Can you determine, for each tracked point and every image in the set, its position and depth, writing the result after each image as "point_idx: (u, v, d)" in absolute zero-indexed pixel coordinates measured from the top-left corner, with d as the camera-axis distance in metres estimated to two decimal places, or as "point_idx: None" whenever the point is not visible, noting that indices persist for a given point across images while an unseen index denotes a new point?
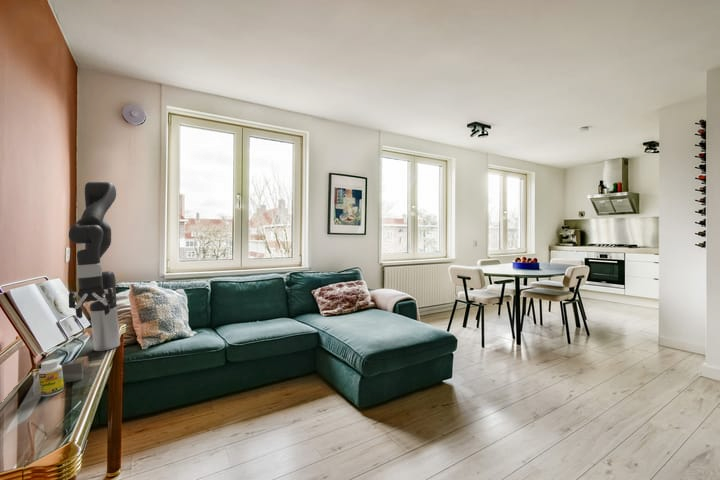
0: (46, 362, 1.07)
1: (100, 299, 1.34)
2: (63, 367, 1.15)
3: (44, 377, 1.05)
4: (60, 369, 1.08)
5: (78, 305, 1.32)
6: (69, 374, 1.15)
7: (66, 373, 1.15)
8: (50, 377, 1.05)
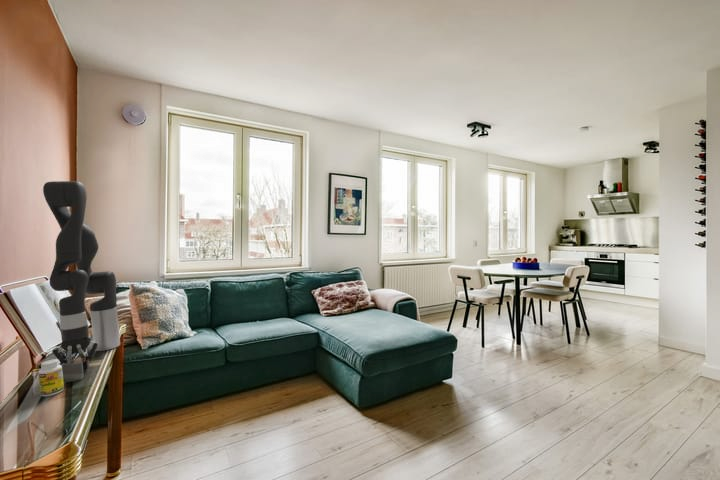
0: (46, 362, 1.07)
1: (81, 353, 1.22)
2: (63, 367, 1.15)
3: (44, 377, 1.05)
4: (60, 369, 1.08)
5: (71, 360, 1.21)
6: (69, 374, 1.15)
7: (66, 373, 1.15)
8: (50, 377, 1.05)
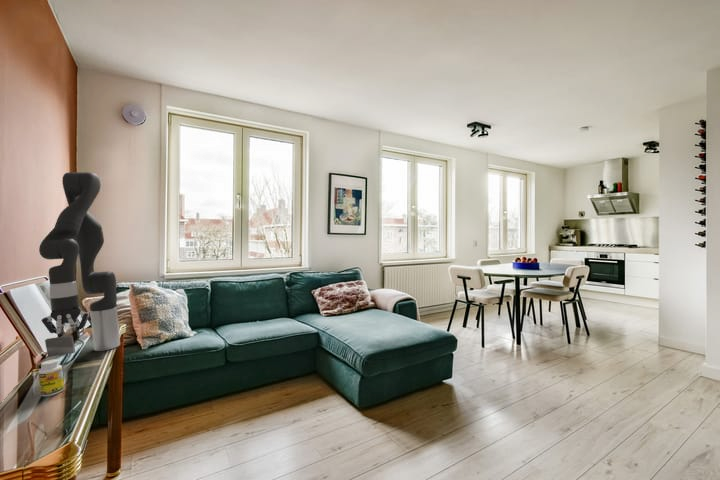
0: (46, 362, 1.07)
1: (71, 323, 1.20)
2: (53, 341, 1.13)
3: (44, 377, 1.05)
4: (60, 369, 1.08)
5: (60, 330, 1.19)
6: (60, 348, 1.14)
7: (57, 346, 1.14)
8: (50, 377, 1.05)
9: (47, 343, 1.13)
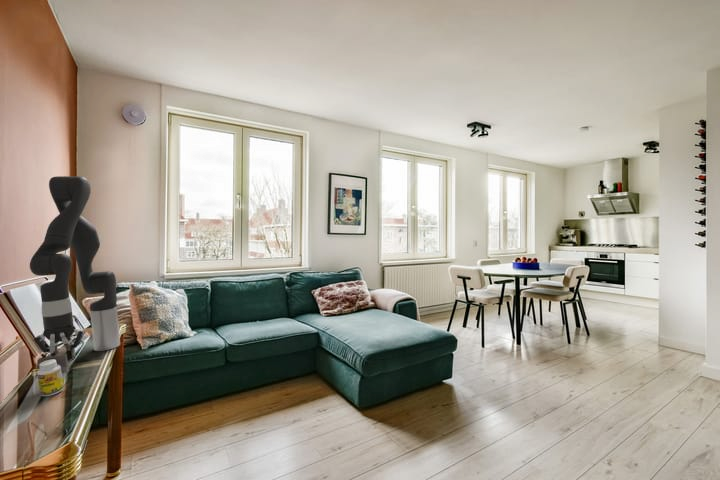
0: (44, 363, 1.06)
1: (65, 342, 1.15)
2: None
3: (43, 378, 1.04)
4: (59, 369, 1.07)
5: (53, 349, 1.14)
6: None
7: None
8: (49, 378, 1.05)
9: None
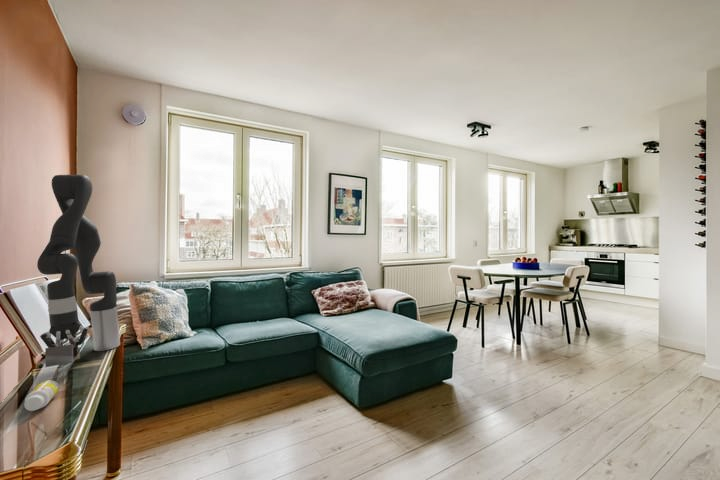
0: (30, 405, 0.95)
1: (70, 339, 1.19)
2: (53, 349, 1.13)
3: None
4: (49, 399, 1.00)
5: None
6: (59, 357, 1.13)
7: (56, 355, 1.13)
8: None
9: (47, 351, 1.12)
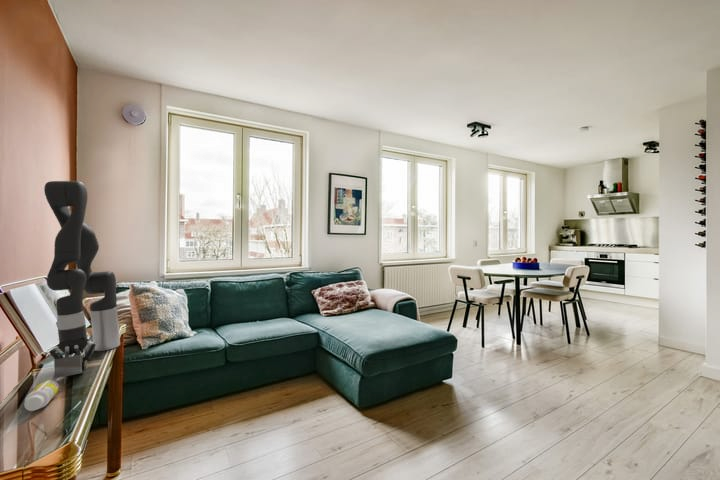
0: (30, 405, 0.95)
1: (78, 354, 1.20)
2: (62, 360, 1.14)
3: None
4: (49, 399, 1.00)
5: None
6: (67, 368, 1.14)
7: (64, 366, 1.14)
8: None
9: (56, 363, 1.13)
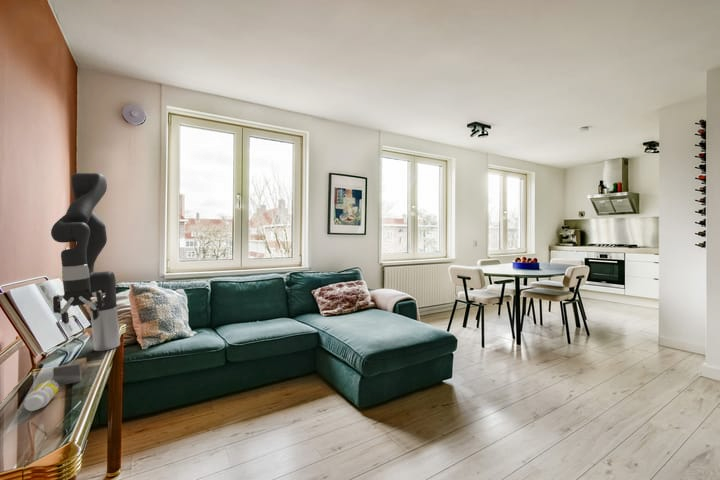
0: (30, 405, 0.95)
1: (88, 303, 1.23)
2: (61, 369, 1.13)
3: None
4: (49, 399, 1.00)
5: (64, 310, 1.21)
6: (67, 376, 1.14)
7: (64, 375, 1.13)
8: None
9: (55, 371, 1.13)
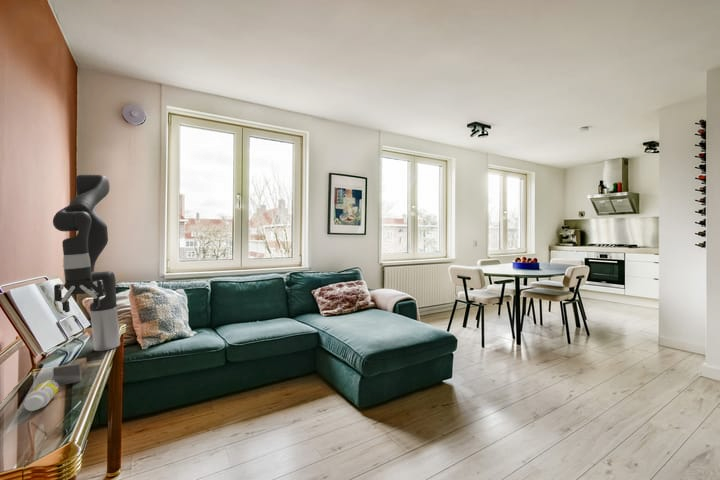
0: (30, 405, 0.95)
1: (89, 292, 1.23)
2: (61, 369, 1.13)
3: None
4: (49, 399, 1.00)
5: (65, 298, 1.21)
6: (67, 376, 1.14)
7: (64, 375, 1.13)
8: None
9: (55, 371, 1.13)
